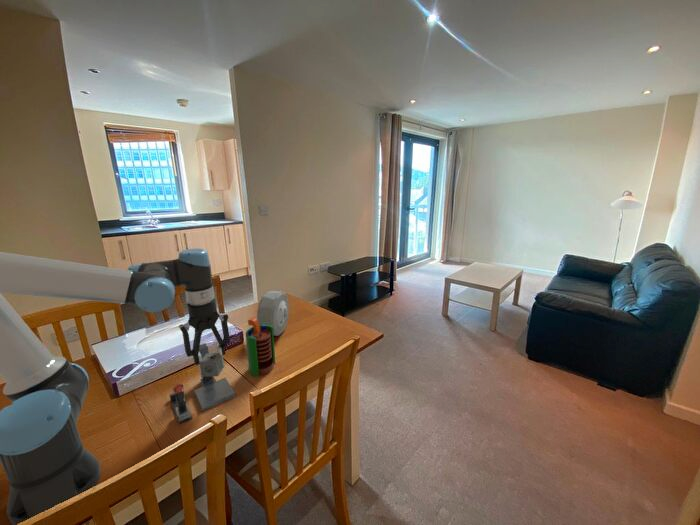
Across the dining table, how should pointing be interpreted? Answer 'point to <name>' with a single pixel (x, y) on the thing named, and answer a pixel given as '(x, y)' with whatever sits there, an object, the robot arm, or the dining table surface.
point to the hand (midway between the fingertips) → (211, 367)
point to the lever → (181, 403)
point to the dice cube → (211, 364)
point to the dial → (274, 311)
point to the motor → (260, 348)
